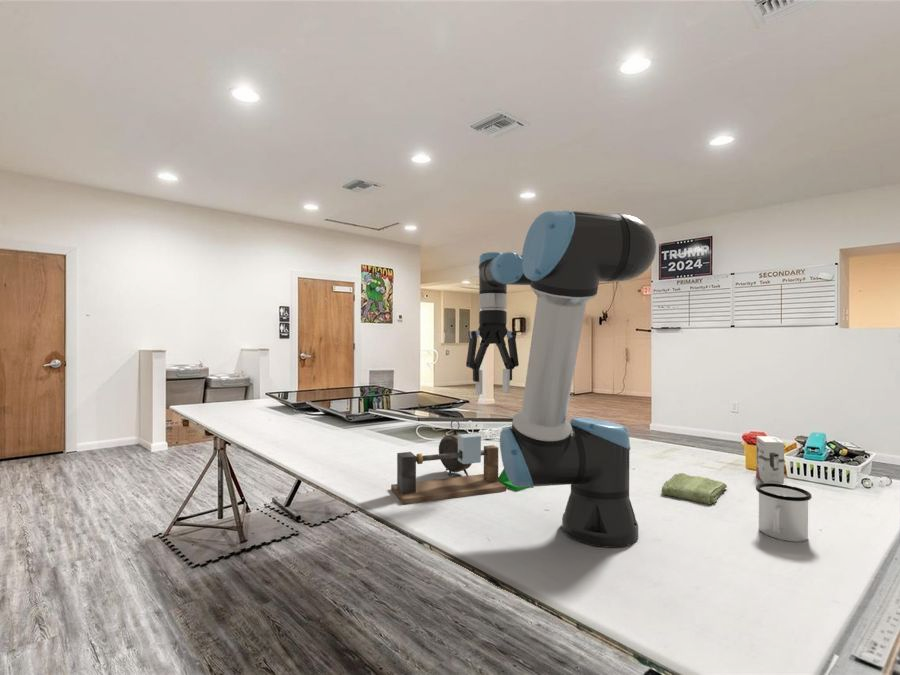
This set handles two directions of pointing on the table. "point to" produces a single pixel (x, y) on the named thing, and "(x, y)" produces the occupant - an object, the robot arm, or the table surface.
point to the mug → (783, 511)
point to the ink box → (770, 459)
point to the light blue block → (469, 448)
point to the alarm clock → (451, 446)
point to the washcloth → (693, 488)
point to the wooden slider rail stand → (445, 487)
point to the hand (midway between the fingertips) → (492, 393)
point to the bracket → (508, 482)
